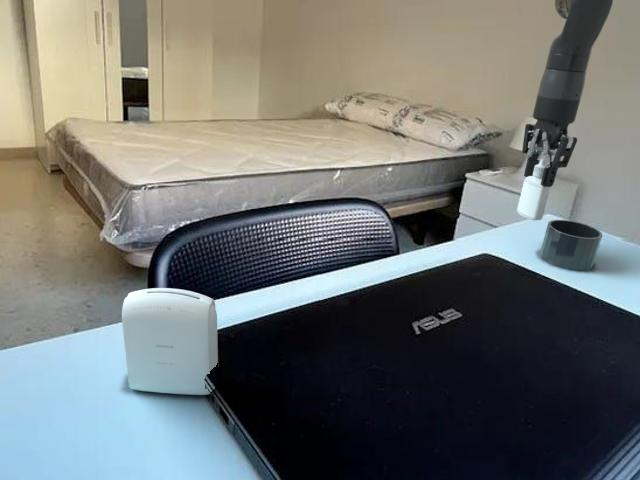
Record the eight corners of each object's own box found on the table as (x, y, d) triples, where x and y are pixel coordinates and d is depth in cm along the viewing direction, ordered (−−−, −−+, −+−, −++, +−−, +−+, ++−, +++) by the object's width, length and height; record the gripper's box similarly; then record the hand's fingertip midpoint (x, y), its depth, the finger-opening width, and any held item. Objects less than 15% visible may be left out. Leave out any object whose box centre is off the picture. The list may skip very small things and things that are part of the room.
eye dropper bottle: (520, 219, 101) (534, 161, 96) (515, 210, 106) (528, 155, 102) (543, 222, 101) (558, 164, 96) (536, 212, 106) (550, 157, 101)
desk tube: (571, 250, 106) (581, 220, 103) (602, 271, 97) (613, 239, 95) (529, 250, 104) (538, 219, 102) (557, 272, 96) (567, 238, 93)
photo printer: (122, 392, 56) (113, 297, 51) (136, 368, 60) (129, 277, 55) (213, 400, 56) (212, 305, 51) (221, 376, 60) (221, 285, 55)
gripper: (602, 102, 88) (576, 193, 95) (555, 91, 101) (534, 172, 108) (564, 100, 87) (540, 192, 93) (521, 89, 100) (502, 171, 106)
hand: (537, 181), depth 101 cm, fingers closed on eye dropper bottle, 5 cm apart
